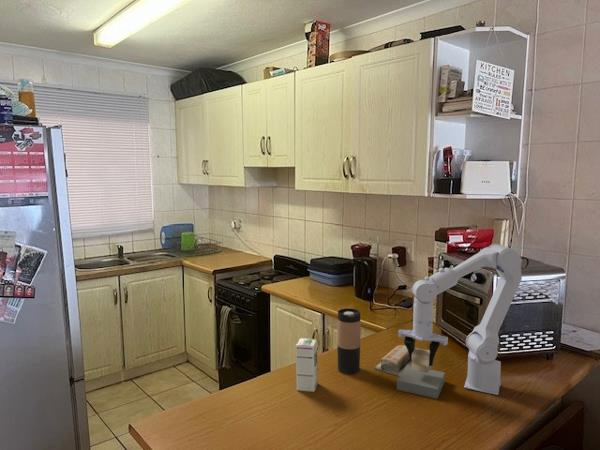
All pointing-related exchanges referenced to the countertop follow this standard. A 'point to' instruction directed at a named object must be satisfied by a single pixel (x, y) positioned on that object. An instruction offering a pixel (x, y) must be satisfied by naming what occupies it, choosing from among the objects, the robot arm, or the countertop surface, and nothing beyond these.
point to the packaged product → (395, 361)
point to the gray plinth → (421, 382)
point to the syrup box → (306, 365)
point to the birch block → (420, 360)
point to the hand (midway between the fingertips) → (421, 362)
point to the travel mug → (348, 341)
